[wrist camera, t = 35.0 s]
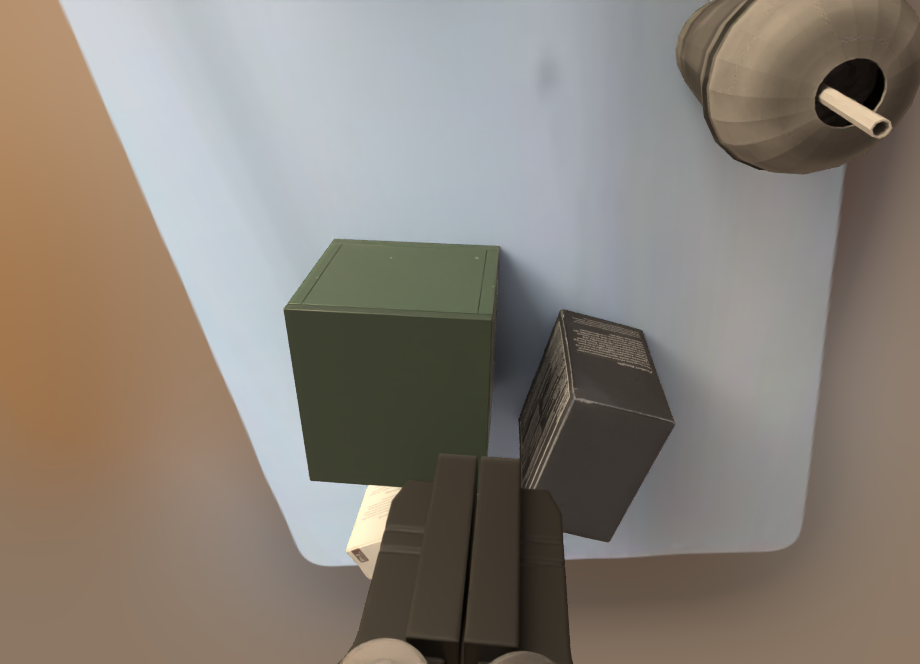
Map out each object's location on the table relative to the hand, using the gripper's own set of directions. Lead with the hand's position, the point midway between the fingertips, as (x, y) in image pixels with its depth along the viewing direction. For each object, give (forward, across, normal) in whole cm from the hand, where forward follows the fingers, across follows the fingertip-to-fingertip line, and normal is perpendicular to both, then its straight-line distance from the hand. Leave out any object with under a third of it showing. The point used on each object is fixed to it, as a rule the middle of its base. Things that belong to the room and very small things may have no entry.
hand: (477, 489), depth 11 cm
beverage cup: (+29, -11, -5) cm, 32 cm away
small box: (+29, -6, +17) cm, 34 cm away
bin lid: (+20, +6, +13) cm, 24 cm away
